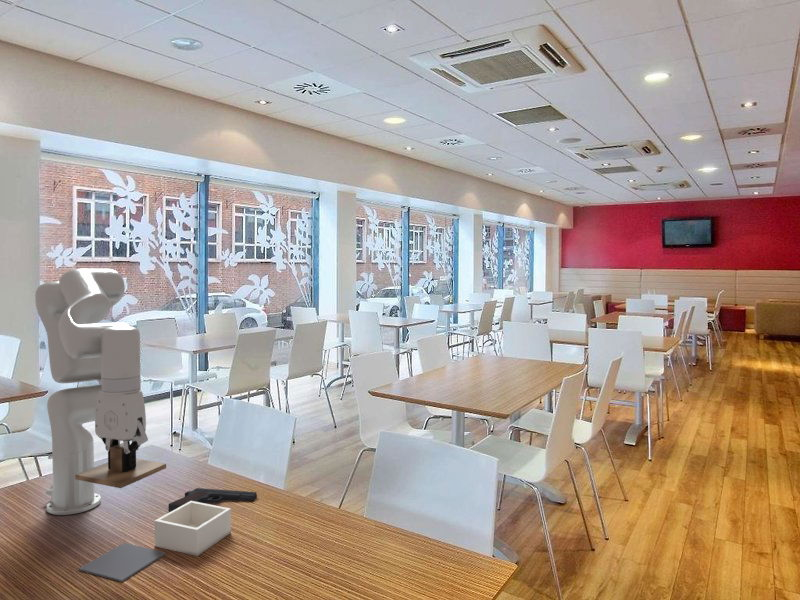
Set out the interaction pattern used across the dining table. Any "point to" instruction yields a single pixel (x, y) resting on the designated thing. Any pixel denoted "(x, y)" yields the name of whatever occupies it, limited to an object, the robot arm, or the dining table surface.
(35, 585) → the dining table surface
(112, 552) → the mat
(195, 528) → the box
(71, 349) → the robot arm
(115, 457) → the lid
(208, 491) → the handgun
